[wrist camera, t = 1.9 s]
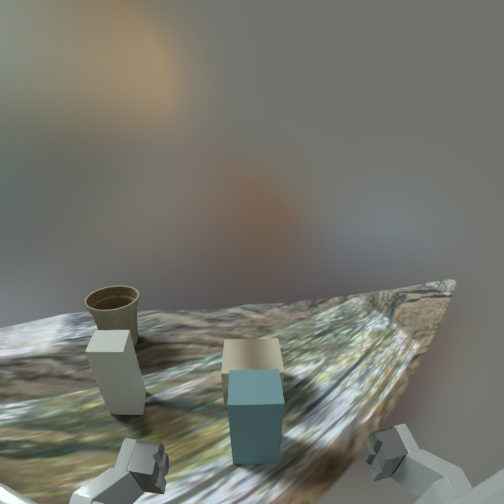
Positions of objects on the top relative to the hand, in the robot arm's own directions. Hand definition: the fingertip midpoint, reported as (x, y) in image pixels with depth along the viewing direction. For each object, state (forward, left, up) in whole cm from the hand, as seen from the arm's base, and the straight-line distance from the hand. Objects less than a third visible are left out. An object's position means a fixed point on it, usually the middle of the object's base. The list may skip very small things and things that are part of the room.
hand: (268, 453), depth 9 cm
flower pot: (-22, +32, -18) cm, 43 cm away
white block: (-16, +18, -17) cm, 30 cm away
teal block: (0, +12, -17) cm, 21 cm away
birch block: (0, +22, -18) cm, 28 cm away
